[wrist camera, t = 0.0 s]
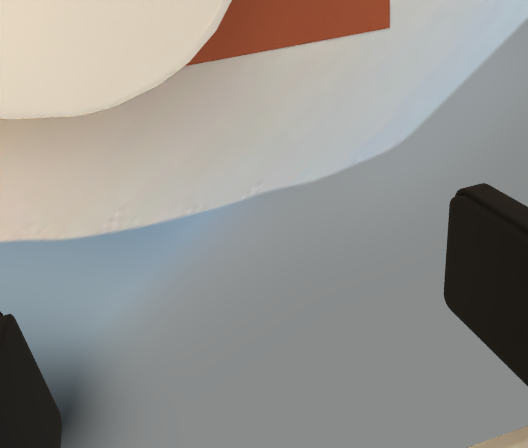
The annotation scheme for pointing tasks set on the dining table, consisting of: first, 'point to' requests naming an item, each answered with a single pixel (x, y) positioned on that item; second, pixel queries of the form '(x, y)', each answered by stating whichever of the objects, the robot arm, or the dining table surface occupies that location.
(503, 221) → the robot arm
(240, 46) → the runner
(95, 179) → the dining table surface
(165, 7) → the plate
